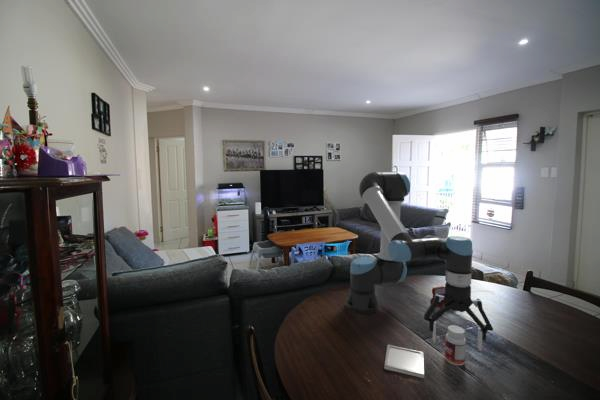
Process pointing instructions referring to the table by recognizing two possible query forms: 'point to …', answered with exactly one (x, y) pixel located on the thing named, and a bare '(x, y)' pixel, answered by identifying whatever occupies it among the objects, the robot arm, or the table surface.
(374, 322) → the table surface
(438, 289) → the toy fire truck
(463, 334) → the pill bottle
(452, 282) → the robot arm
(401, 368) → the coaster
